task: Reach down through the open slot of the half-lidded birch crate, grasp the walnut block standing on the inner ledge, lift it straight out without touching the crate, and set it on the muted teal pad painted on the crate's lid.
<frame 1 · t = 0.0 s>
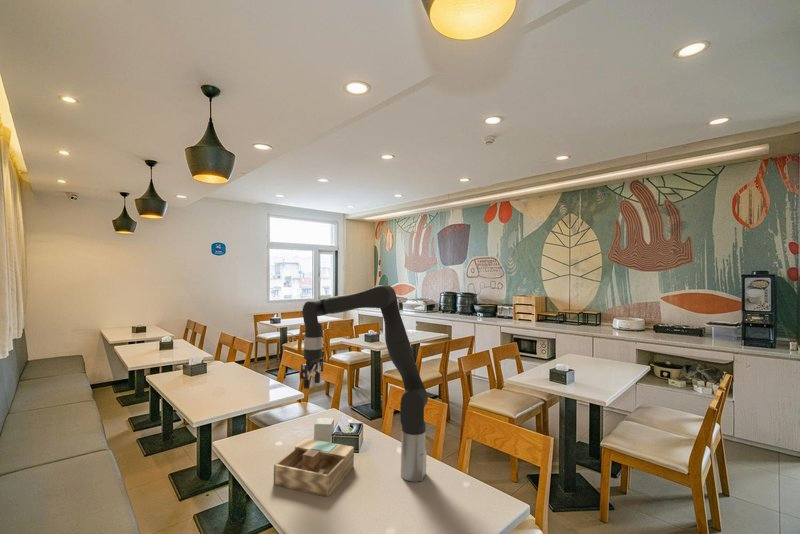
hand: (311, 385, 152), 29 cm above the table, fingers open, 8 cm apart
crate: (315, 475, 137), on the table
block: (310, 473, 133), point 2 cm above the table, touching crate
supplement box: (323, 450, 156), on the table
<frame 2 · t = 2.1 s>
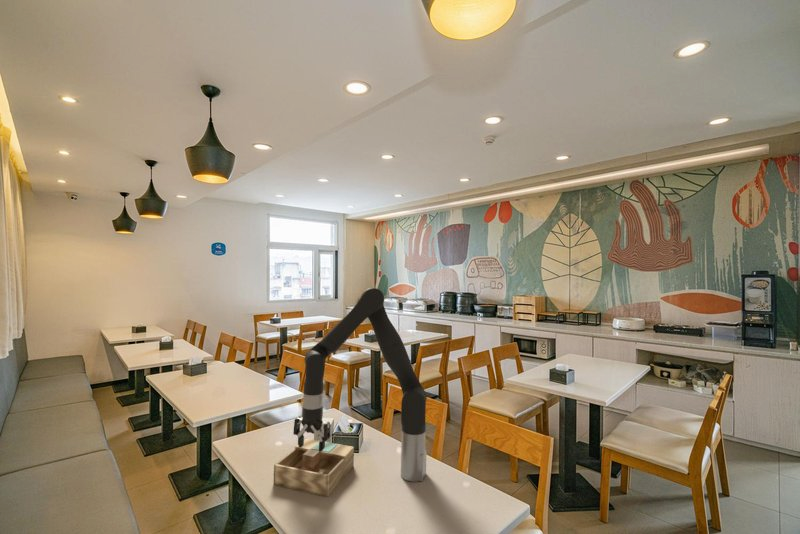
hand: (311, 448, 134), 11 cm above the table, fingers open, 8 cm apart
nothing on the table moved.
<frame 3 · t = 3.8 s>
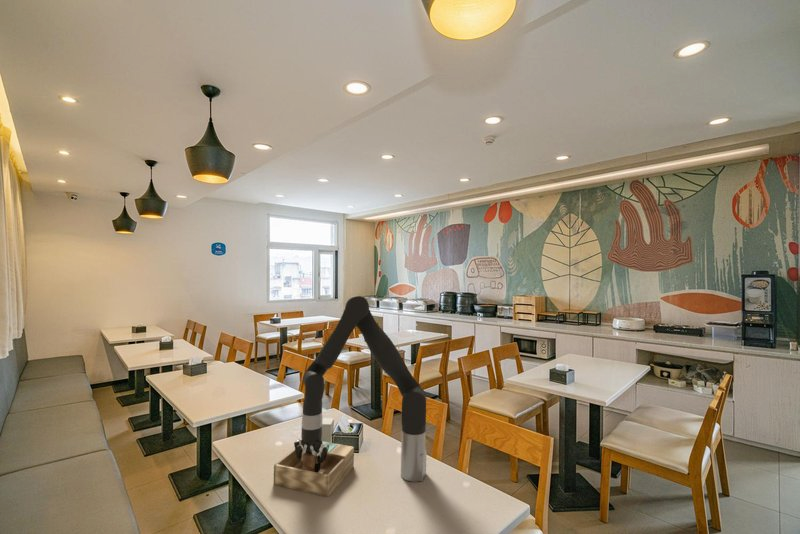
hand: (310, 470, 133), 3 cm above the table, fingers closed on block, 4 cm apart
block: (310, 473, 133), point 3 cm above the table, touching crate, gripper
everything else where it was.
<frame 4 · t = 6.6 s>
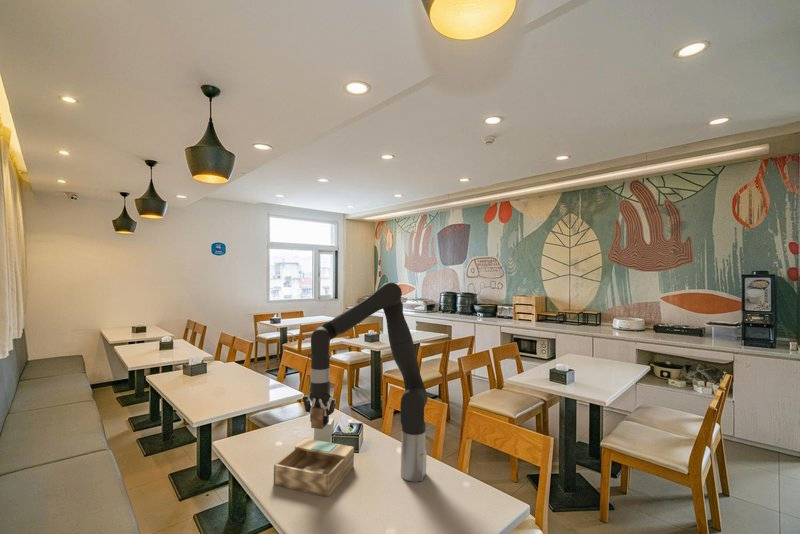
hand: (319, 423, 138), 19 cm above the table, fingers closed on block, 4 cm apart
block: (319, 426, 138), point 18 cm above the table, touching gripper
everything else where it was.
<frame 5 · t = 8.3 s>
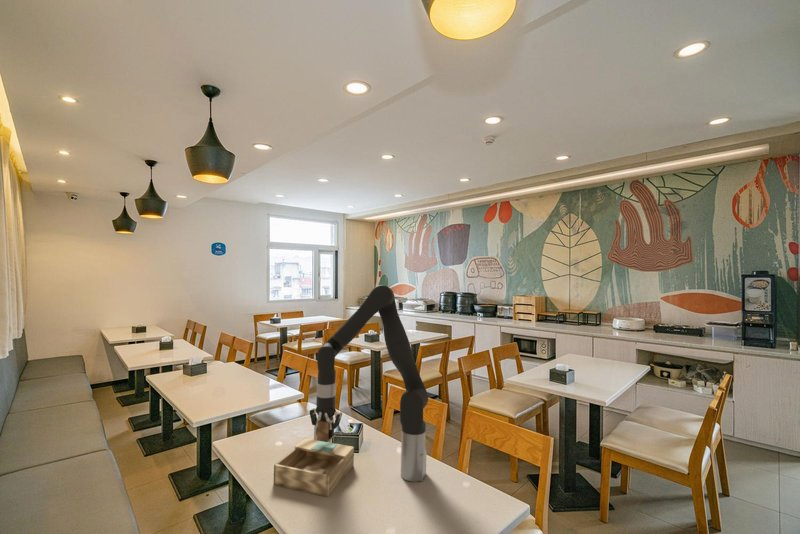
hand: (324, 436, 143), 12 cm above the table, fingers closed on block, 4 cm apart
block: (324, 438, 143), point 11 cm above the table, touching gripper
everything else where it was.
when the fingers open (10 cm above the table, at t = 9.4 s): block drops 1 cm, resting on crate.
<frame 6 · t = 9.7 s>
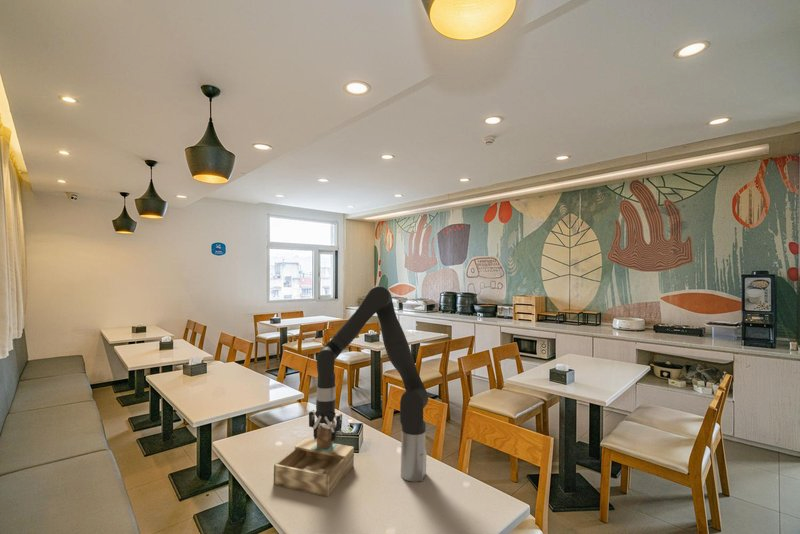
hand: (324, 439, 143), 11 cm above the table, fingers open, 7 cm apart
block: (324, 446, 143), point 8 cm above the table, touching crate
everything else where it was.
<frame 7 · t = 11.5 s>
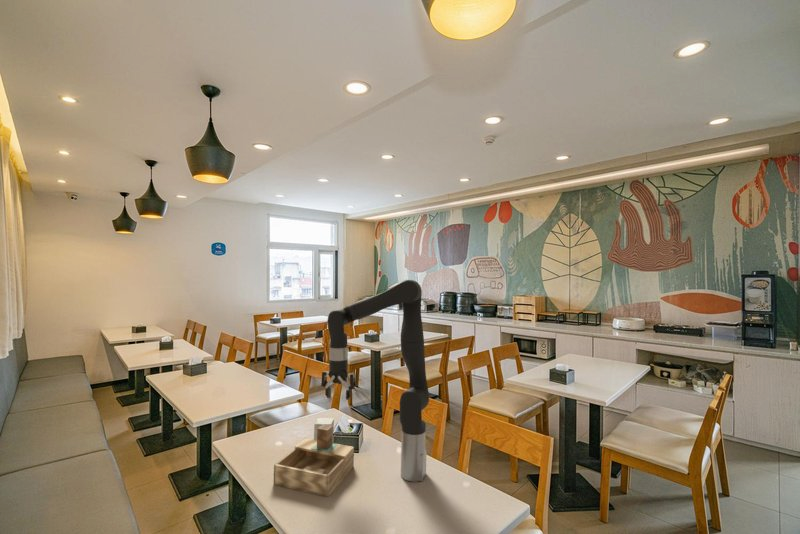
hand: (338, 398, 146), 26 cm above the table, fingers open, 8 cm apart
nothing on the table moved.
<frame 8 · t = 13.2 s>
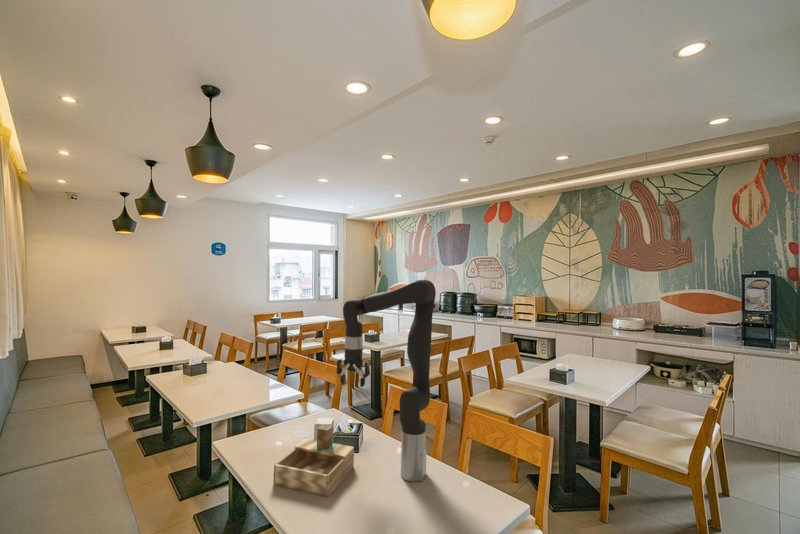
hand: (352, 385, 151), 30 cm above the table, fingers open, 8 cm apart
nothing on the table moved.
at the end: block inside the target area on the crate (0.1 cm from its centre), point 8.0 cm above the crate's base; block tilted 0°; the gripper is holding nothing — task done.
